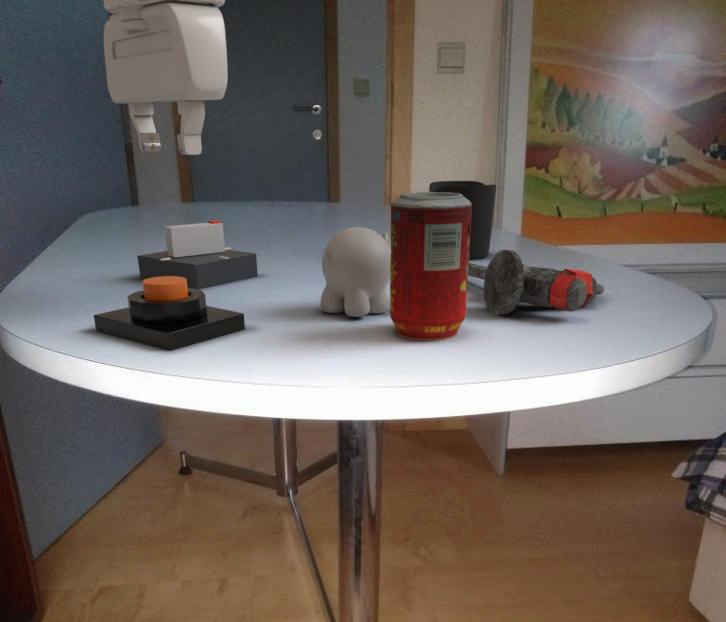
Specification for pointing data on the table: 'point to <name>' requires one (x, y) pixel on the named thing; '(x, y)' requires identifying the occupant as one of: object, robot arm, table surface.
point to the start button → (165, 288)
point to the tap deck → (200, 267)
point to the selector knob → (195, 239)
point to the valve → (532, 285)
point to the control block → (169, 321)
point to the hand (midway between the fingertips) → (169, 153)
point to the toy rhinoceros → (356, 272)
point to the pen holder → (474, 211)
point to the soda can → (429, 264)
